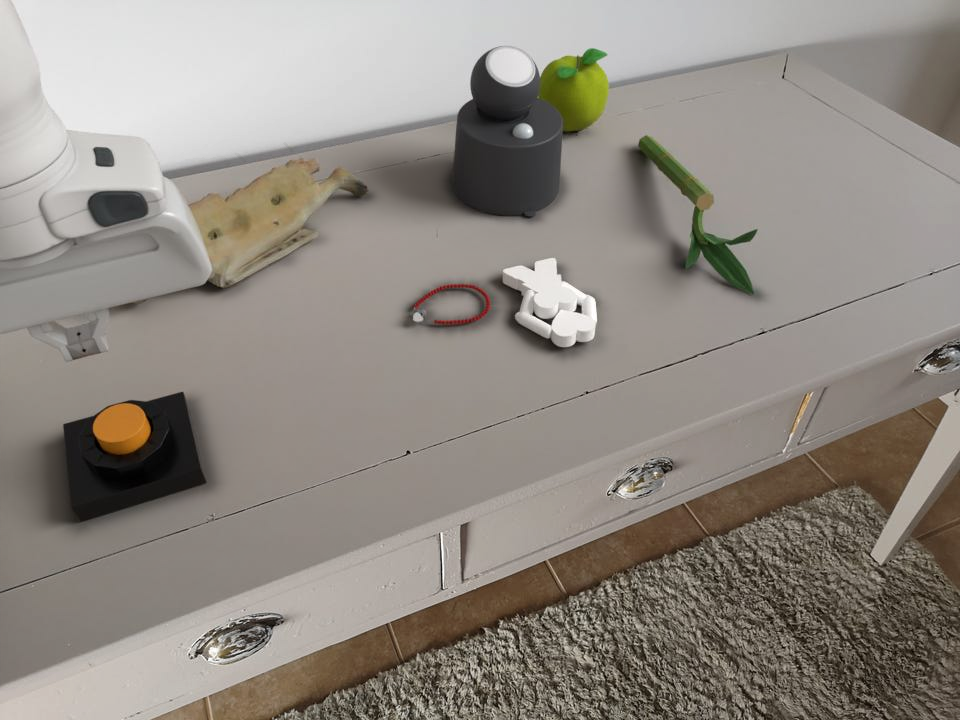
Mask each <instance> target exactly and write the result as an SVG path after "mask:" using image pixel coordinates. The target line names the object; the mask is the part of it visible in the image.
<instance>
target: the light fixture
mask: <svg viewBox="0 0 960 720" xmlns="http://www.w3.org/2000/svg"><path fill="white" fill-rule="evenodd" d="M540 77H541V74H540V71H539V68H538V66H537V64H536V62H535V61H534V59H533V58H532V57H531V56H530V54H528V53H527V52H526V51H525V50H523V49H522V48H520V47H516V46H512V45H501V46H499V45H498V46H496V47H493V48H491V49H489V50H487V51H486V52H485V53H483V54H482V55H481V56H480V57H479V58H478V59H477V61H476V62H475V63H474V66H473V68H472V71H471V75H470V79H469V80H470V81H469V82H470V83H469V85H470V87H469V88H470V93H471V97H472V99H470V100H468V101H467V102H465V103H464V104H463V105H462V106H461V107H460V108H459V110H458V113H457V116H456V128H455V137H454V138H455V139H454V151H453V162H452V163H453V165H452V174H451V175H452V176H451V185H452V190H453V192H454V193H455V194H456V196H457V197H458V198H459V200H461V201H462V202H463V203H464V204H466V205H467V206H469V207H471V208H473V209H475V210H478V211H479V212H484V213H487V214H491V215H497V216H509V217H512V216H514V217H515V216H522V215H524V216H525V217H527V218H532V217H536V215H537V212H538V211H541V210H543V209H545V208H546V207H548V206H549V205H550V204H552V203H553V202H554V200H555V199H556V198H557V197H558V194H559V192H560V182H561V181H560V180H561V165H562V150H563V149H562V148H563V135H564V134H563V133H564V131H563V119H562V116H561V114H560V113H559V111H558V110H557V109H556V108H555V107H553V106H552V105H551V104H549V103H548V102H546V101H544V100H542V99H539V98H538V95H539V92H540Z"/></svg>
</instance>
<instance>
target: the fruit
mask: <svg viewBox="0 0 960 720" xmlns="http://www.w3.org/2000/svg"><path fill="white" fill-rule="evenodd" d="M605 57H608V53H607V52H605V51H603V50H600V49H597V48H593V47H590V48H588V49H587V50H585V51H584V53H583V54H582V56H581V55H580V56H579V55H576V56H573V55H564V56H562V57H560V58H558V59H555V60H552V61H550V62H549V63H548V64H547V65H546V66H545V67H544V69H543V70H542V72H541V74H540V92H539V95H538V98H539V99H542V100H544V101H546V102H548V103H549V104H551V105H552V106H553V107H555V108H556V109H557V110H558V111H559V113H560V114H561V116H562V119H563V132H567V133H568V132H569V133H570V132H576V131H577V132H578V131H582V130H585V129H587V128H589V127H590V126H593V124H594V123H596V122H597V121H598V119H600V117H601V116H602V114H603V112H604V109H605V107H606V105H607V101H608V97H609V91H610V86H609V85H610V84H609V79H608V76H607V74H606V71H604V69H603V68H602V67H601V66H600V65H599V63H598V61H600V60H602V59H604V58H605Z"/></svg>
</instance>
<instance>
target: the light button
mask: <svg viewBox="0 0 960 720" xmlns="http://www.w3.org/2000/svg"><path fill="white" fill-rule="evenodd" d="M116 404H117V403H116ZM93 432H94V435H95V436H96V438H97V440H98V442H99V444H100V446H101V447H102V449H103V450H104V451H106V452H108V453H110V454H114V455H123V454H128V453H131V452H134V451H136V450H137V449H139V448H140V447H142V446H143V445H144V444H145V443H146V442H147V440H148V439H149V436H150V433H151V427H150V425H149V422H148V420H147V418H146V416H145V413H144V411H143V410H142V409H141V408H140V407H138V406H137V405H134V404H128V403H123V404H117V405H114V406H111V407H109V408H107V409H106V410H104V411H103V412H101V413H100V414H99V415H98V417H97V418H96V419H95V421H94V424H93Z"/></svg>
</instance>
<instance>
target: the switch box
mask: <svg viewBox="0 0 960 720" xmlns="http://www.w3.org/2000/svg"><path fill="white" fill-rule="evenodd" d="M123 403H128V404H134V405H137V406H138V407H140V408H141V409H142V410H143V411H144V413H145V416H146V418H147V420H148V422H149V425H150V427H151V433H150V436H149V439H148V440H147V442H146V443H145V444H144V445H143V446H142V447H140V448H139V449H137V450H136V451H134V452H131V453H128V454H123V455H114V454H110V453H108V452H106V451H104V450H103V449H102V447H101V446H100V444H99V442H98V440H97V438H96V436H95V435H94V432H93V424H94V421H95V419H96V418H97V417H98V415H99V414H100V413H101V412H103V411H104V410H106V409H107V408H109V407H111V406H114V405H117V404H123ZM191 413H192V412H191V409H190V405H189V402H188V401H187V397H186V395H185V392H184V391H179V392H176V393H173V394H168V395H165V396H160V397H157V398H154V399H150V400H146V401H145V400H137V399H129V400H125V401H121V402H117V403H113V404H110V405H107V406H105V407H104V408H103V409H102V410H100V411H98V412H97V413H95V414H93V415H92V416H91V415H90V416H88V417H84V418H80V419H77V420H73V421H69V422H66V423H63V424H62V429H63V437H64V438H63V440H64V449H65V460H66V461H65V462H66V470H67V481H68V482H67V483H68V491H69V493H68V494H69V503H70V509H71V511H72V512H73V513H74V515H75V516H76V518H77V519H78V521H79V522H80V523H82V522H86V521H89V520H92V519H96V518H99V517H102V516H105V515H108V514H111V513H115V512H118V511H121V510H124V509H127V508H130V507H134V506H138V505H140V504H143V503H147V502H151V501H154V500H156V499H160V498H163V497H166V496H169V495H172V494H173V495H174V494H176V493H179V492H182V491H186V490H189V489H192V488H196V487H199V486H203V485H206V484H207V477H206V473H205V469H204V465H203V461H202V456H201V452H200V447H199V443H198V440H197V434H196V431H195V426H194V422H193V418H192V417H193V416H192V414H191Z"/></svg>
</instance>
